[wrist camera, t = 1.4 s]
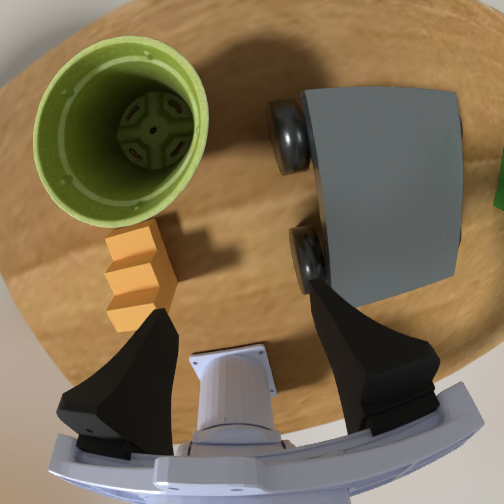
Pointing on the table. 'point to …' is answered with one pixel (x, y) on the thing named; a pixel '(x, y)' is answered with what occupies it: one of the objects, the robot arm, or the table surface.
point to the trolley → (374, 186)
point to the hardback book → (500, 188)
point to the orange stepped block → (138, 274)
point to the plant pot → (120, 131)
